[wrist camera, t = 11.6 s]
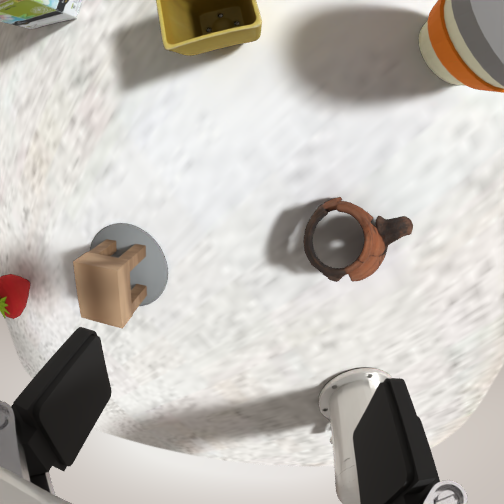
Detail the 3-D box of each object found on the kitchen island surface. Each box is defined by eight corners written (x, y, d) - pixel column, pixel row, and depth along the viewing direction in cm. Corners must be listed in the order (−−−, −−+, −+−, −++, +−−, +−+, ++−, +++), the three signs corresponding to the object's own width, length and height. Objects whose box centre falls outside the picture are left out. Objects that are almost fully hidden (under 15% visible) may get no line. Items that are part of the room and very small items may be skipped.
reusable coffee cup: (439, 114, 30) (517, 112, 16) (384, 21, 26) (436, -31, 12) (502, 82, 26) (579, 76, 12) (454, -2, 23) (516, -41, 9)
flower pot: (180, 7, 28) (151, -22, 20) (253, -12, 27) (243, -48, 18) (192, 68, 31) (163, 51, 23) (268, 51, 30) (263, 25, 21)
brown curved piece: (336, 287, 39) (313, 298, 32) (310, 218, 41) (282, 214, 34) (424, 253, 33) (424, 257, 26) (394, 179, 35) (385, 164, 28)
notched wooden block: (146, 244, 39) (117, 270, 31) (147, 296, 42) (122, 328, 34) (106, 238, 39) (73, 261, 32) (109, 288, 42) (81, 317, 34)
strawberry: (21, 297, 46) (-13, 325, 37) (14, 259, 43) (-24, 284, 34) (43, 305, 46) (9, 336, 36) (36, 266, 43) (-3, 293, 34)
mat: (168, 312, 43) (167, 313, 42) (95, 295, 43) (93, 297, 43) (168, 229, 38) (167, 230, 38) (88, 218, 39) (87, 219, 38)
